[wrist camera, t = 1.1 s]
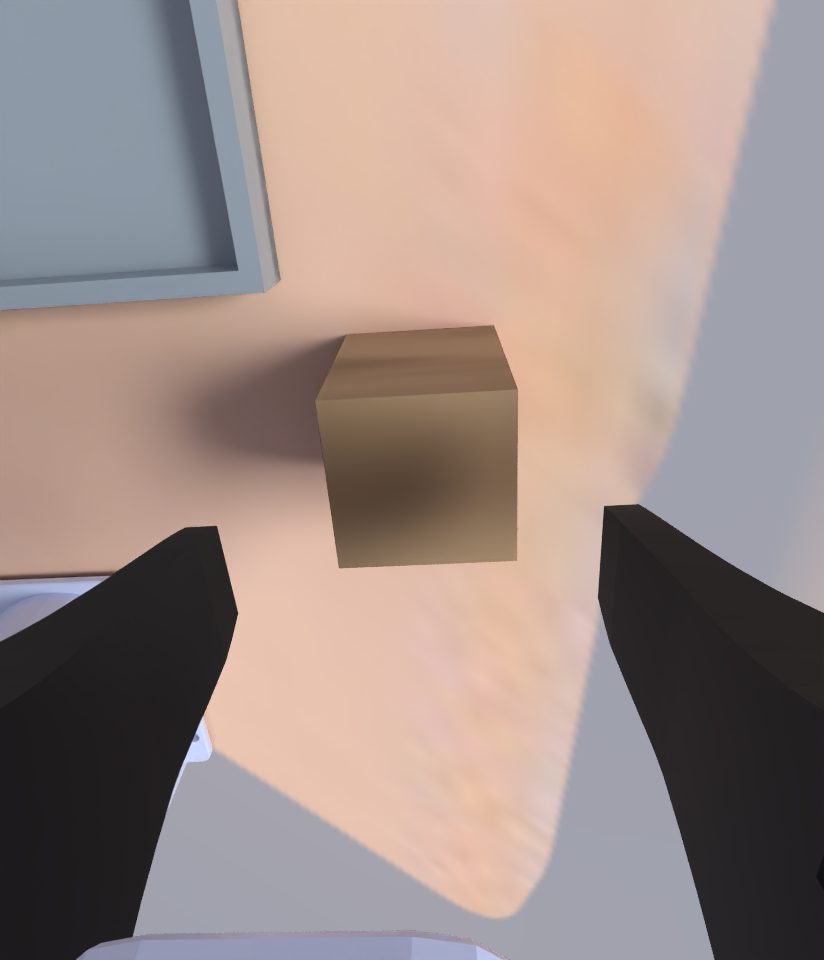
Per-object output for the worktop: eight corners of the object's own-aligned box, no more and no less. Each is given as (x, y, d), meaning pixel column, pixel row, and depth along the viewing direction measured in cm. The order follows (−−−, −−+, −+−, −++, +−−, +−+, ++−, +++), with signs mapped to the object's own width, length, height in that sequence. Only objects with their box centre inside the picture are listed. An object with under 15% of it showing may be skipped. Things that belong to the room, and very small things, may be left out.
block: (495, 459, 21) (516, 560, 16) (361, 466, 22) (339, 568, 16) (493, 325, 19) (518, 389, 14) (346, 334, 20) (314, 401, 14)
